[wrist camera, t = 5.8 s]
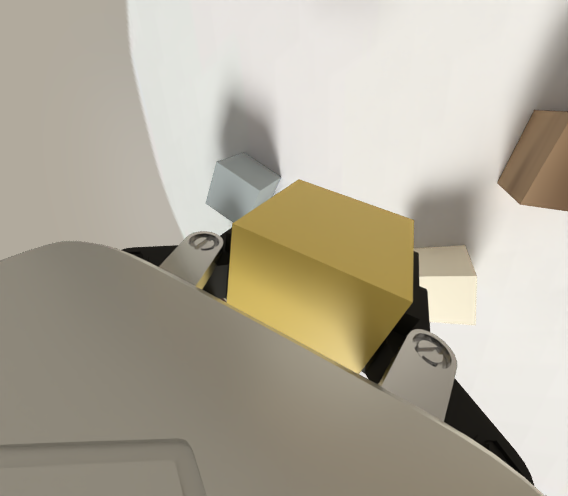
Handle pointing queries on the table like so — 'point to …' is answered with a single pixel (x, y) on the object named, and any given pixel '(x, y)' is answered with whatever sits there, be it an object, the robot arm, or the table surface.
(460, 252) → the cream cube
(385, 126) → the table surface
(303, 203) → the mustard cube
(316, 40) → the table surface
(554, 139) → the walnut cube
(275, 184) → the slate cube
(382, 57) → the table surface
